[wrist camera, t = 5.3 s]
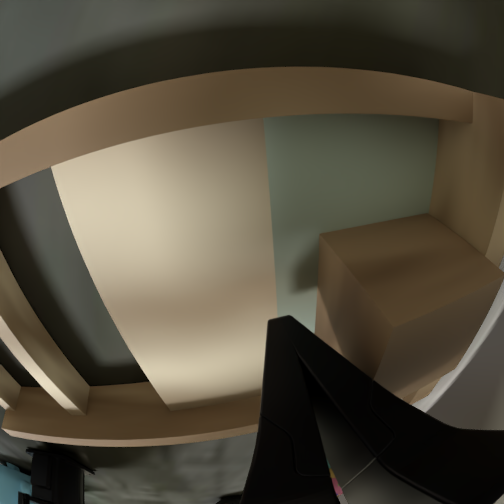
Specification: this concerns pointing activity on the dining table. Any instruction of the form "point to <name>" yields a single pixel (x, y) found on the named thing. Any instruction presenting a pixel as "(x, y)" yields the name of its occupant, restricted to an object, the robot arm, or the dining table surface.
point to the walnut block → (402, 299)
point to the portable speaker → (230, 500)
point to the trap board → (230, 229)
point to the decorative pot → (13, 484)
